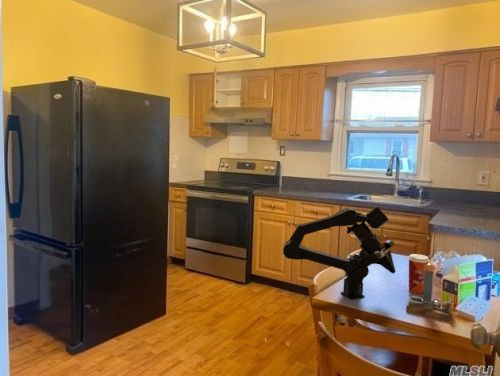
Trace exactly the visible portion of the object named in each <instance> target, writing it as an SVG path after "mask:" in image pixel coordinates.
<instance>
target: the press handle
mask: <svg viewBox="0 0 500 376" xmlns="http://www.w3.org/2000/svg"><path fill="white" fill-rule="evenodd" d="M424 269H425V273H424V287H423V294H422V297H421V298H422V300H421V303H426V304H430V305H433V306H434V307H438V308H441V305H442V302H441V301H440V300H439V301H438V300H434V299H433V291H434V289H433V288H434V276H435V275H434V274H435V271H436V270H435V266H434V265H433V264H432V263H428V264H426V265H425V267H424Z"/></svg>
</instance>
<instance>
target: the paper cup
mask: <svg viewBox="0 0 500 376" xmlns="http://www.w3.org/2000/svg"><path fill="white" fill-rule="evenodd" d="M426 264H430V257H428V256H427V255H425V254H419V253H417V254H416V253H413V254H412V253H411V254H409V256H408V291H409V292H410V293H412V294H417V295H421V294H422V295H423V287H424V273H425V269H424V267H425V265H426Z"/></svg>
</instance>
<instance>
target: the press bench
mask: <svg viewBox="0 0 500 376" xmlns="http://www.w3.org/2000/svg"><path fill="white" fill-rule="evenodd" d="M422 298H423V297H420V296H414V295H411V297H410V298H409V300H408V302H407V304H406V308H405V312H407V313H411V314H412V313H413V314H417V315H421V316H425V317H430V318H434V319H439V320H441V321H442V320H444V321H447V322H448V321H449V322H450V317H451V314H452V313H451V312H452V298H453V297H449V299H448V301H443V302H441V308H438V307H434V306H433V305H430V304H426V303H421V300H422Z"/></svg>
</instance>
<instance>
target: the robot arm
mask: <svg viewBox="0 0 500 376" xmlns="http://www.w3.org/2000/svg"><path fill="white" fill-rule="evenodd" d="M389 219H390V218H388V216H387V215H386V214H385V213H384V212H383V211H382V210H381V209H380V208H379V207H378V206H377V205H375V206H374V207H373V208H372V209H371V210H370V211H368V212H367V213H366V214H364V213H361V212H357V211H356V210H355V209H354V208H352V207H345V208H343V209H341V210H339V211H337V212H336V213H334V214H332V215H329V216H326V217H323V218H319V219H316V220H312V221H308V222H305V223H299V224H297V226H295V227H296V228H295V230H294V232H293V233H292V234H291V236H290V238H289V239H288V240H286V241H285V242H284V244H283V247H282V254H283V255H284V257H285V258H286V259H288V260H298V261H300V260H306V261H311V262H314V263H317V264H321V265H324V266H328V267H332V268H335V269H338V270H342V271H343V272H344V275H345V276H346V277H345V278H344V279H343V291H340V294H341V295H343V296H345V297H347V298H348V299H350V300H355V299H361V298H365V296H366V295H364V292H363V291H364V282H363V281H364V279H365V278H366V277H367V276H368V275H369V272H370V270H369V266H370V267H371V265H379V266H381V267H383V268H384V269H386V270H387V271H388V272H390V273H391V274H395V273H396V267H395V263H394V260H393V254H392V250H391V249H390V248H392V247H394V246H395V243H394V242H393V241H392V240H391V239H390V240H389V239H387V240H385V241H384V242H381V241H380V240H379V239H378V238H377V237H378V234H377V233H375V234H374V233H373V231H372V230H373V229H374V230H378V229H380V228H381V227H382V226H384V225H385V224H387V222H390V220H389ZM358 223H359V224H358ZM366 223H367V224H368V225H369V226H368V225H367V224H366ZM334 227H346V228H347V231H346V234H347V235H349V234H351V233H352V234H353V235H354V237H355V238H356V239H357V240H358V242H359V243H360V245H359V246H360V248H361V250H360V251H359V252H355V253H354V254H353V255H352V254H349V256H348V257H341V256H338V255H334V254H331V253H327V252H323V251H319V250H316V249H312V248H309V247H307V246H305V245H303V244H302V242H303V240H304V237H305V235H309V234H313V233H316V232H320V231H323V230H326V229H331V228H334ZM370 228H371V229H372V230H371V229H370Z"/></svg>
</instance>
